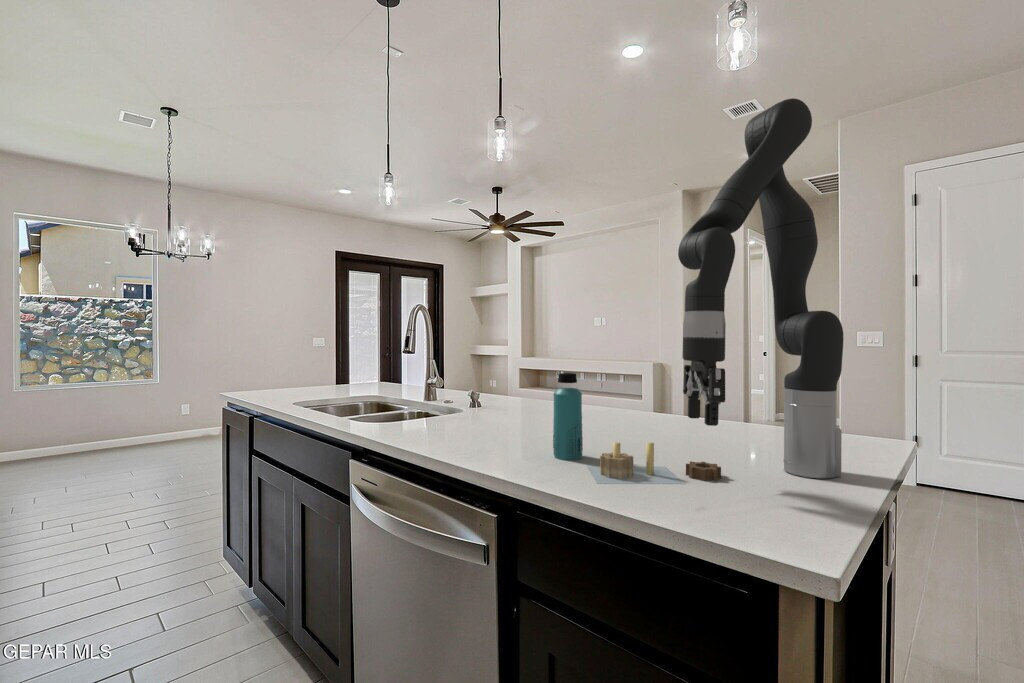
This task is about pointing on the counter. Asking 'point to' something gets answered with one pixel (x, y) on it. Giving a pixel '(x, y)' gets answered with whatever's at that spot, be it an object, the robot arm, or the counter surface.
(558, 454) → the beverage bottle
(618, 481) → the gear board
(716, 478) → the walnut gear
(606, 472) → the beech gear
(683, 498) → the counter surface
